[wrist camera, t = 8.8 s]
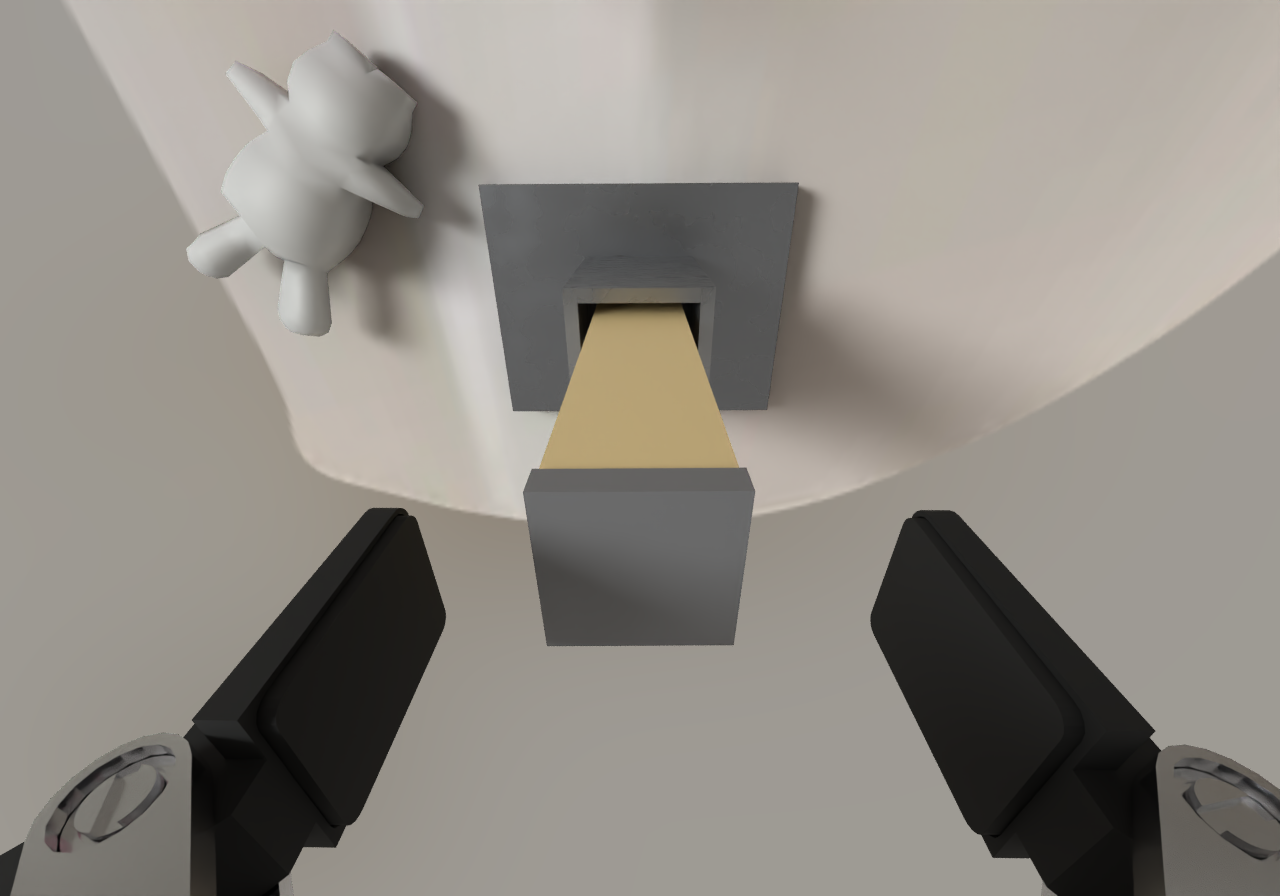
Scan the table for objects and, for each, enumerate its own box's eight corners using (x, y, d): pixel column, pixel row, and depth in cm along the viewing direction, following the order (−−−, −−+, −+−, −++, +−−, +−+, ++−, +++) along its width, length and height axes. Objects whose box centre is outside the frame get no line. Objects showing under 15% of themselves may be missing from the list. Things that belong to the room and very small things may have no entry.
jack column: (681, 296, 23) (755, 491, 8) (678, 380, 25) (732, 650, 11) (596, 297, 23) (522, 492, 8) (600, 381, 25) (548, 651, 11)
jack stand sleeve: (790, 182, 28) (888, 181, 17) (761, 400, 34) (817, 499, 24) (486, 184, 28) (388, 184, 17) (518, 402, 34) (463, 500, 24)
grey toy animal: (446, 131, 23) (306, 361, 27) (472, 149, 28) (349, 343, 32) (250, -42, 20) (125, 246, 24) (316, 11, 25) (202, 244, 29)
